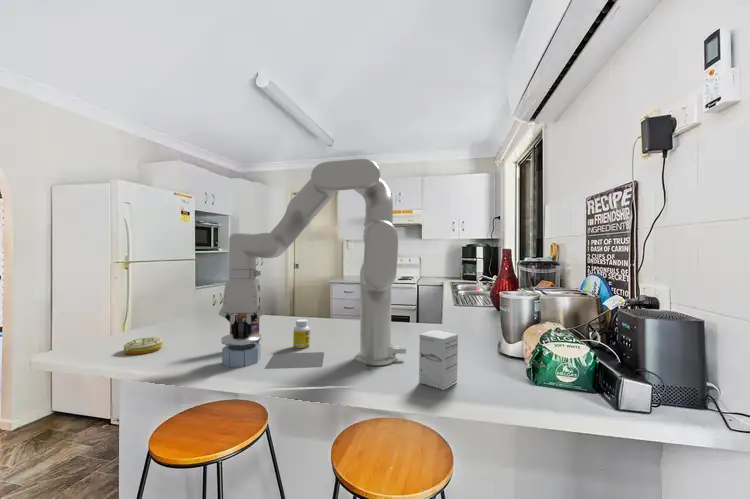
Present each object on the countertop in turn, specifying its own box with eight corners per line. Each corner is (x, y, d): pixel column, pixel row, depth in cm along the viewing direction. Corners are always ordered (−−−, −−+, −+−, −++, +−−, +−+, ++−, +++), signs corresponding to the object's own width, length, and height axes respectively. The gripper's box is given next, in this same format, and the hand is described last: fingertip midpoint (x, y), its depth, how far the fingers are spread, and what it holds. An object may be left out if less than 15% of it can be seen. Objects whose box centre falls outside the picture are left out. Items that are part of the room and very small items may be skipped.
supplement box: (417, 383, 86) (418, 333, 86) (433, 375, 92) (433, 328, 92) (443, 391, 81) (443, 338, 81) (458, 382, 87) (458, 333, 87)
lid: (264, 335, 107) (264, 317, 107) (256, 345, 96) (256, 325, 96) (228, 335, 105) (228, 318, 105) (215, 345, 95) (216, 326, 95)
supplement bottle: (307, 351, 113) (307, 322, 113) (291, 351, 113) (291, 321, 113) (311, 346, 118) (311, 318, 118) (295, 346, 118) (295, 318, 118)
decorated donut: (125, 349, 114) (125, 338, 114) (162, 345, 120) (162, 334, 120) (121, 358, 106) (122, 345, 106) (162, 352, 111) (162, 341, 111)
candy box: (231, 353, 110) (231, 306, 110) (229, 350, 114) (229, 304, 114) (259, 349, 115) (259, 304, 115) (256, 346, 118) (256, 302, 119)
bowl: (262, 357, 106) (262, 341, 106) (254, 368, 96) (255, 350, 96) (229, 358, 105) (229, 342, 105) (218, 369, 95) (218, 351, 95)
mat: (324, 353, 110) (324, 352, 110) (322, 368, 96) (322, 366, 96) (273, 355, 108) (273, 353, 108) (264, 370, 94) (264, 368, 94)
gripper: (272, 274, 105) (272, 333, 105) (218, 274, 104) (217, 334, 104) (267, 275, 98) (267, 339, 98) (209, 275, 96) (208, 340, 96)
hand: (241, 336), depth 101 cm, fingers closed on lid, 2 cm apart
